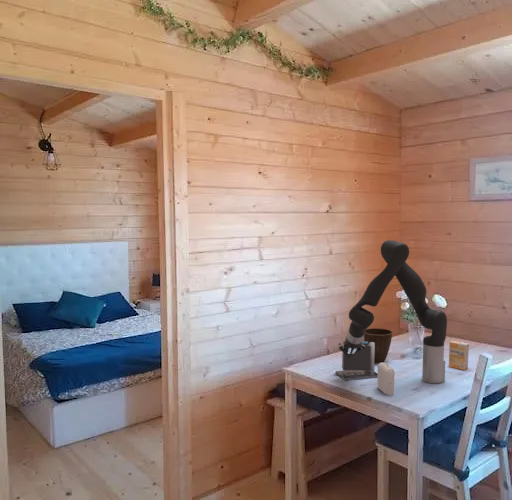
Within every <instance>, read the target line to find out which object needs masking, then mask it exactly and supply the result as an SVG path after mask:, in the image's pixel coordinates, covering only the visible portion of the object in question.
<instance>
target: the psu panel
mask: <svg viewBox="0 0 512 500" xmlns="http://www.w3.org/2000/svg"><path fill="white" fill-rule="evenodd" d="M335 374H336V375H337V376H338V377H339V378H341V379H342V380H344V381H345V382H347V381H357V380H367V379H368V380H369V379H378V372H376V371H375V370H374V371H369V370H343V369H342V370H336V371H335Z"/></svg>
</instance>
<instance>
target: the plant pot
mask: <svg viewBox="0 0 512 500" xmlns="http://www.w3.org/2000/svg"><path fill="white" fill-rule="evenodd" d="M392 337H393V331H392V330H389V329H386V328H379V327H378V328H377V327H375V328H367V329H366V331H365V333H364V339H363V340H364V341H363V342H368V344H369V345H370V342H374V343H375V353H374V364H379V363H386V359H387V357H388V354H389V351H390V347H391V342H392V339H393V338H392Z"/></svg>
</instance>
